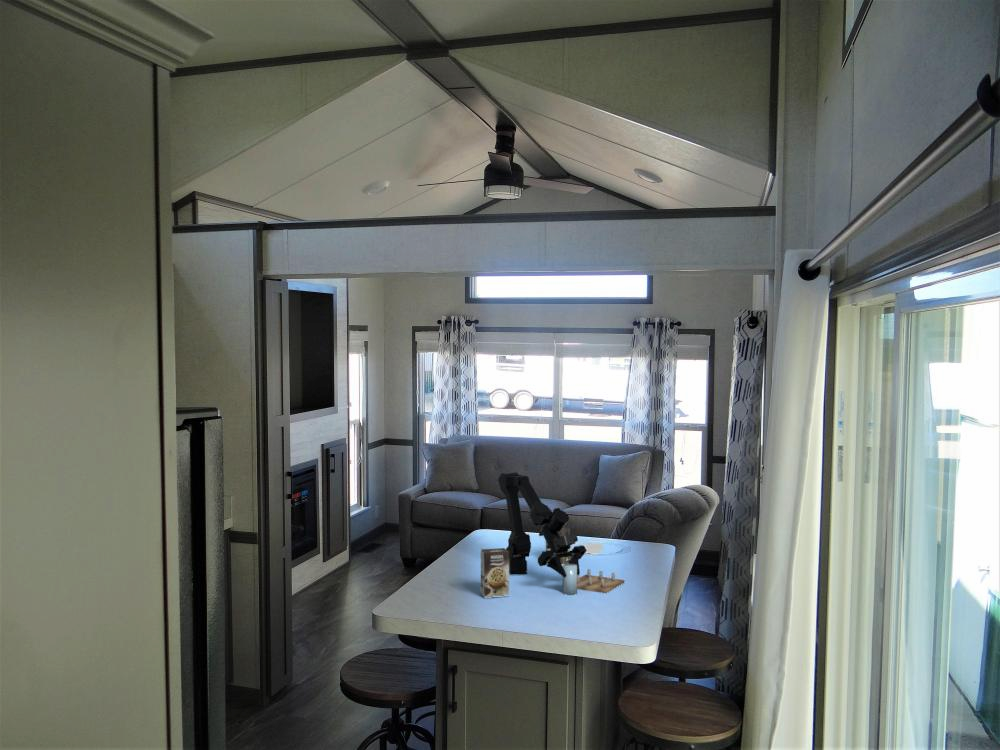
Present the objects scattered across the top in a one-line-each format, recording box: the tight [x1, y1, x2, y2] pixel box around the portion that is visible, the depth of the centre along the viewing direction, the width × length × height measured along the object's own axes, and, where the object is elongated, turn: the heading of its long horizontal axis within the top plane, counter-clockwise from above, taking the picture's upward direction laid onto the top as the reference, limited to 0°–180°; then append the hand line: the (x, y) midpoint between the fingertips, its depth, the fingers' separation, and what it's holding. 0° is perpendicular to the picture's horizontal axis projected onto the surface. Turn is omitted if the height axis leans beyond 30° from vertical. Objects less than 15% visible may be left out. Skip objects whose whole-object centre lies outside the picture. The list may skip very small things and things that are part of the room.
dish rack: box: [577, 568, 626, 594], centre depth 295 cm, size 16×16×4 cm
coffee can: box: [545, 526, 571, 566], centre depth 328 cm, size 10×10×14 cm
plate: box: [570, 540, 616, 557], centre depth 352 cm, size 28×28×1 cm
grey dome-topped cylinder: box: [562, 564, 578, 596], centre depth 284 cm, size 5×5×10 cm
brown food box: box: [480, 547, 510, 598], centre depth 282 cm, size 9×6×16 cm
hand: (572, 575), depth 283 cm, fingers open, 6 cm apart
